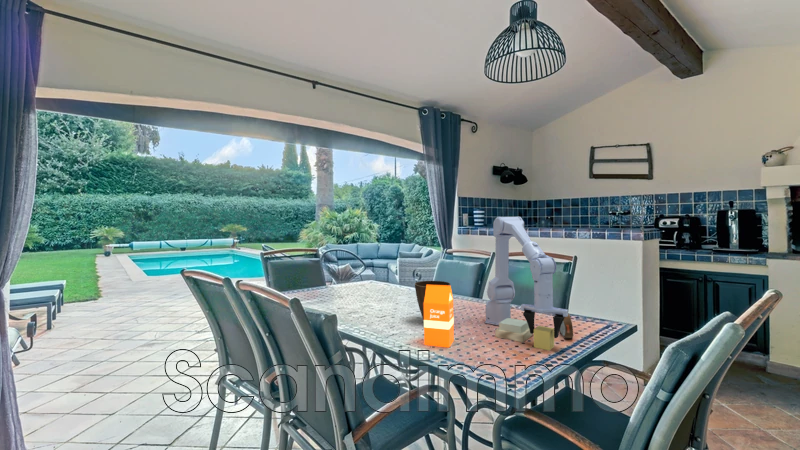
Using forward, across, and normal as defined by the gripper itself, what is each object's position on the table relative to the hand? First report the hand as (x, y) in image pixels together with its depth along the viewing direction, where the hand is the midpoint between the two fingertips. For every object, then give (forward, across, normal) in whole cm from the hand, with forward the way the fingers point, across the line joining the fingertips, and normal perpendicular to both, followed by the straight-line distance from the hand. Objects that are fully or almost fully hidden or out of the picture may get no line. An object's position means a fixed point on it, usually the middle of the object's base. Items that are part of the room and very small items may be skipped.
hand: (544, 335), depth 117 cm
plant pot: (+4, -46, +3) cm, 46 cm away
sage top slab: (+1, -12, +5) cm, 13 cm away
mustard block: (+4, 0, 0) cm, 4 cm away
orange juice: (+4, -30, -17) cm, 35 cm away
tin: (+4, +2, +17) cm, 18 cm away
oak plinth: (+4, -12, +5) cm, 14 cm away
